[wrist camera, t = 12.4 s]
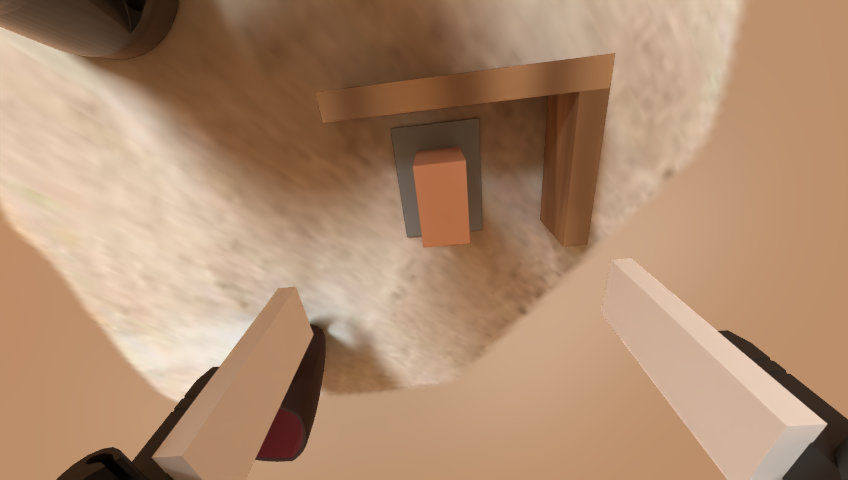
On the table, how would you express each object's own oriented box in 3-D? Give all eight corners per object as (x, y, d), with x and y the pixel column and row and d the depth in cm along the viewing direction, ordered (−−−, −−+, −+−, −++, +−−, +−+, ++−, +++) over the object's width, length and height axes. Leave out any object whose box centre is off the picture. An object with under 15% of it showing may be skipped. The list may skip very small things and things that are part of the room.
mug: (263, 357, 41) (204, 452, 30) (265, 274, 35) (192, 357, 24) (335, 371, 42) (303, 468, 31) (350, 293, 36) (315, 380, 25)
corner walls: (369, 235, 32) (357, 264, 27) (338, 91, 26) (315, 92, 21) (559, 217, 31) (587, 244, 26) (574, 61, 25) (615, 53, 19)
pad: (407, 236, 32) (407, 237, 32) (390, 128, 27) (390, 129, 27) (482, 229, 32) (482, 230, 31) (478, 118, 27) (479, 118, 27)
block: (416, 151, 28) (412, 166, 23) (458, 146, 28) (465, 160, 22) (424, 220, 31) (423, 247, 26) (463, 216, 31) (470, 243, 25)
